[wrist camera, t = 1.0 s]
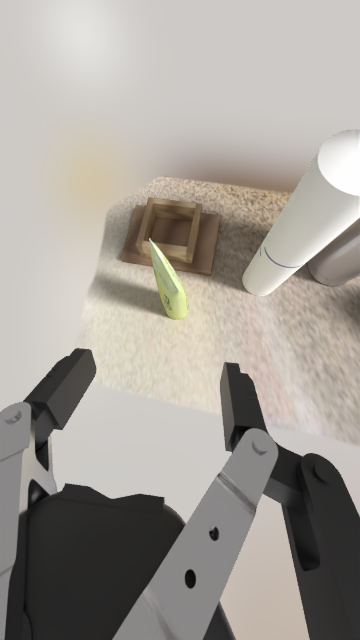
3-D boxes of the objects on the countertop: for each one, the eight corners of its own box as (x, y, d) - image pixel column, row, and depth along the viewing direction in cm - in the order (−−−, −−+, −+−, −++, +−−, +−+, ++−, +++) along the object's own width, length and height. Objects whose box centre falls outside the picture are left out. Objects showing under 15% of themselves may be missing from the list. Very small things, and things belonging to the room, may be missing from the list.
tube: (159, 314, 41) (131, 274, 21) (168, 293, 41) (148, 236, 22) (184, 323, 40) (178, 290, 21) (192, 301, 41) (194, 250, 22)
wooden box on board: (219, 220, 44) (223, 201, 39) (210, 275, 42) (212, 262, 36) (137, 209, 46) (130, 190, 41) (123, 261, 44) (113, 247, 38)
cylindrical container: (249, 300, 40) (340, 206, 16) (237, 270, 42) (304, 143, 17) (281, 290, 40) (423, 181, 16) (268, 260, 42) (378, 120, 17)
